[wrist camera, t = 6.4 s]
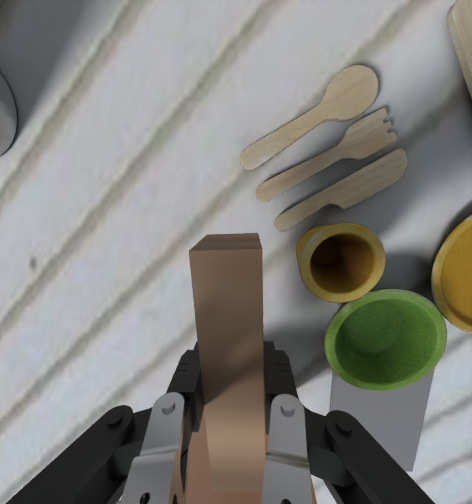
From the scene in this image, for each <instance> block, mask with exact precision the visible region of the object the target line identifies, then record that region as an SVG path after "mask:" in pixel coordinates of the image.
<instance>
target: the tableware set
mask: <svg viewBox="0 0 472 504" xmlns="http://www.w3.org/2000/svg"><path fill="white" fill-rule="evenodd" d="M447 25H448V29H449V32H450V35H451V38H452V42H453V45H454V48H455V51H456V54H457V57H458V60H459V63H460V66H461V69H462V72H463V75H464V78H465V81H466V84H467V87H468V90H469V93H470V96H471V99H472V0H457V1H456V2H455V3H454V5H453V6H452V7H451V8H450V10H449V12H448V15H447ZM377 93H378V79H377V76H376V74H375V73H374V71H373V70H372V69H370V68H368V67H367V66H362V65H353V66H350V67H347V68H345V69H343V70H342V71H340V72H339V73H338V74H337V75H336V76H335V77H334V78H333V79H332V80H331V82H330V83H329V85H328V87H327V89H326V91H325V93H324V96H323V98H322V100H321V102H320V103H319V104H318V105H317V106H316V107H314V108H313V109H311V110H309V111H308V112H306V113H305V114H303V115H301V116H300V117H298V118H296V119H295V120H293V121H291V122H290V123H288V124H286V125H284V126H283V127H281V128H279V129H278V130H276V131H274V132H272V133H271V134H269V135H267V136H266V137H264V138H262V139H260V140H259V141H257V142H255V143H253V144H252V145H250V146H249V147H247V148H246V149H245V150H244V151H243V152H242V153H241V156H240V161H241V164H242V166H243V167H244V168H245V169H246V170H255V169H257V168H259V167H260V166H262V165H263V164H265V163H266V162H267V161H269V160H270V159H271V158H273V157H274V156H276V155H277V154H278V153H280V152H281V151H283V150H284V149H285V148H287V147H288V146H289V145H291V144H292V143H294V142H295V141H296V140H298V139H299V138H301V137H302V136H303V135H305V134H306V133H308V132H309V131H310V130H312V129H313V128H315V127H316V126H318V125H319V124H321V123H323V122H325V121H330V120H333V121H340V122H343V121H348V120H351V119H354V118H356V117H358V116H359V115H361V114H362V113H364V112H365V111H366V110H367V109H368V108H369V107H370V106H371V104H372V103H373V102H374V100H375V98H376V95H377ZM387 117H388V114H387V111H386V109H385V108H382V109H380V110H378V111H376V112H374V113H372V114H370V115H368V116H366V117H364V118H362V119H360V120H358V121H357V122H355V123H354V124H352V125H351V126H350V127H349V128H348V129H347V130H346V132H345V133H344V135H343V137H342V139H341V140H340V142H339V143H338V144H337V145H336V146H335V147H334V148H332V149H330V150H328V151H326V152H324V153H322V154H320V155H318V156H316V157H314V158H312V159H310V160H308V161H306V162H304V163H302V164H300V165H298V166H296V167H294V168H291V169H289V170H287V171H285V172H283V173H281V174H279V175H277V176H275V177H273V178H271V179H269V180H267V181H265V182H263V183H262V184H260V185H259V186H258V187H257V189H256V196H257V199H259V200H260V201H262V202H268V201H270V200H272V199H274V198H276V197H277V196H279V195H281V194H282V193H284V192H286V191H288V190H289V189H291V188H293V187H294V186H296V185H298V184H299V183H301V182H303V181H304V180H306V179H308V178H309V177H311V176H313V175H314V174H316V173H318V172H320V171H321V170H323V169H325V168H326V167H328V166H330V165H332V164H333V163H335V162H337V161H338V160H342V159H352V160H362V159H364V158H366V157H368V156H370V155H372V154H374V153H376V152H377V151H379V150H381V149H383V148H384V147H386V146H388V145H389V144H391V143H392V142H394V141H395V140H396V139H397V137H396V134H395V132H394V131H393V132H390V133H388V132H387V131H388V130H389V129H390V128H392V124H391V122H390V121H388V122H385V123H384V122H383V120H384V119H386V118H387ZM407 164H408V159H407V155H406V153H405V151H404V150H403V149H401V148H400V149H397V150H394V151H392V152H390V153H388V154H386V155H384V156H383V157H381V158H379V159H377V160H375V161H374V162H372V163H370V164H368V165H367V166H365V167H363V168H361V169H360V170H358V171H356V172H354V173H353V174H351V175H349V176H347V177H345V178H344V179H342V180H340V181H338V182H337V183H335V184H333V185H331V186H330V187H328V188H326V189H324V190H323V191H321V192H319V193H317V194H315V195H314V196H312V197H310V198H308V199H307V200H305V201H303V202H301V203H300V204H298V205H296V206H294V207H292V208H291V209H289V210H287V211H285V212H284V213H282V214H280V215H279V216H278V217H277V218H276V219H275V221H274V226H275V228H276V229H277V230H278V231H287V230H289V229H291V228H292V227H294V226H296V225H297V224H299V223H300V222H302V221H303V220H305V219H306V218H308V217H309V216H311V215H312V214H314V213H315V212H317V211H318V210H320V209H321V208H322V207H324V206H326V205H328V204H335V205H336V206H338V207H340V208H342V209H347V208H349V207H351V206H353V205H355V204H357V203H359V202H361V201H363V200H365V199H367V198H368V197H370V196H372V195H374V194H376V193H378V192H380V191H382V190H383V189H385V188H387V187H389V186H390V185H392V184H394V183H395V182H396V181H397V180H399V179H400V178H401V177H402V175H403V174H404V172H405V170H406V168H407ZM296 254H297V260H298V265H299V271H300V275H301V278H302V281H303V283H304V284H305V286H306V288H307V289H308V290H309V291H310V292H311V293H313V294H314V295H315V296H317V297H319V298H321V299H323V300H326V301H329V302H336V303H340V302H346V303H345V304H344V305H343V306H342V307H341V308H340V309H338V311H337V312H336V313H335V314H334V316H333V317H332V319H331V321H330V323H329V325H328V327H327V330H326V334H325V340H324V346H325V353H326V357H327V360H328V362H329V365H330V366H331V368H332V369H333V371H334V372H335V373H336V374H337V375H338V376H339V377H340V378H341V379H342V380H344V381H345V382H347V383H348V384H351V385H353V386H355V387H357V388H361V389H364V390H369V391H391V390H397V389H401V388H404V387H406V386H408V385H411V384H413V383H415V382H417V381H419V380H420V379H421V378H423V377H424V376H425V375H427V374H428V373H429V372H430V371H431V370H432V369H433V368H434V367H435V366H436V365H437V363H438V362H439V360H440V359H441V357H442V355H443V353H444V350H445V346H446V342H447V329H446V324H445V321H444V318H443V316H444V317H445V318H446V319H447V320H448V321H449V322H450V323H451V324H453V325H454V326H456V327H457V328H459V329H461V330H463V331H465V332H468V333H471V334H472V215H470V216H469V217H468V218H466V219H465V220H464V221H462V222H461V223H460V224H459V225H458V226H457V227H456V228H455V229H454V230H453V231H452V232H451V233H450V234H449V235H448V237H447V238H446V240H445V241H444V242H443V244H442V245H441V247H440V249H439V251H438V253H437V255H436V258H435V261H434V263H433V267H432V273H431V289H432V295H433V299H434V301H435V304H436V306H437V307H436V306H435V305H434V304H433V303H432V302H431V301H429V300H428V299H427V298H425V297H423V296H421V295H420V294H417V293H415V292H412V291H408V290H403V289H394V288H386V289H377V290H372V291H370V290H371V289H372V288H373V287H374V286H375V285H376V284H377V283H378V281H379V280H380V278H381V276H382V275H383V271H384V268H385V263H386V257H385V251H384V248H383V244H382V242H381V241H380V239H379V238H378V237H377V236H376V235H375V234H374V233H373V232H372V231H371V230H369V229H368V228H366V227H364V226H362V225H358V224H354V223H338V224H331V225H323V226H317V227H314V228H312V229H310V230H308V231H307V232H306V233H304V234H303V235H302V237H301V238H300V240H299V241H298V244H297V249H296ZM437 308H438V309H439V310H438V309H437ZM440 312H441V313H440ZM441 314H442V315H443V316H442V315H441Z"/></svg>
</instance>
